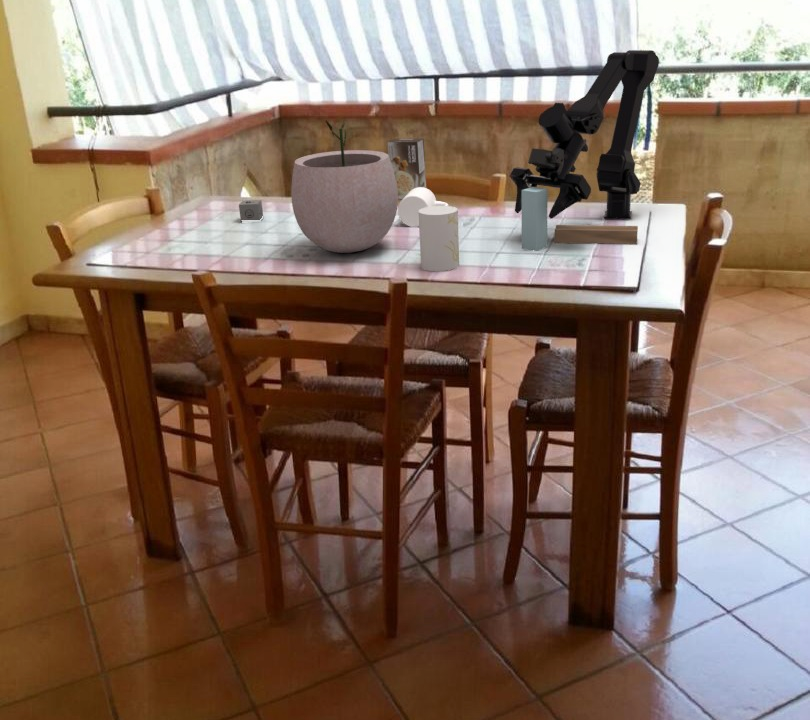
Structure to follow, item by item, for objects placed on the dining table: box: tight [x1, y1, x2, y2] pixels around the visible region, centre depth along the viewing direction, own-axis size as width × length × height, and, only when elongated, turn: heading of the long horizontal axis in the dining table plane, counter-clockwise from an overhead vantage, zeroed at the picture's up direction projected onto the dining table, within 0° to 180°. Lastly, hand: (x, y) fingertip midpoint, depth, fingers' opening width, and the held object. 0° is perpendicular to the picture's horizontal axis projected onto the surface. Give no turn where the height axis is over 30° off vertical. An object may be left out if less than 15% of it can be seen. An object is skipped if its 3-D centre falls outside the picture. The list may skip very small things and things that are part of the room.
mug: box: [397, 187, 450, 228], centre depth 220 cm, size 12×10×8 cm
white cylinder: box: [418, 205, 460, 272], centre depth 184 cm, size 8×8×12 cm
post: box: [521, 186, 549, 252], centre depth 193 cm, size 4×4×13 cm
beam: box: [553, 224, 639, 245], centre depth 197 cm, size 4×18×3 cm, turn 75°
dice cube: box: [238, 199, 264, 221], centre depth 232 cm, size 5×5×5 cm
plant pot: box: [291, 117, 399, 254], centre depth 196 cm, size 24×24×30 cm
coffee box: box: [387, 138, 427, 200], centre depth 247 cm, size 9×6×16 cm
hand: (532, 214), depth 192 cm, fingers open, 9 cm apart
